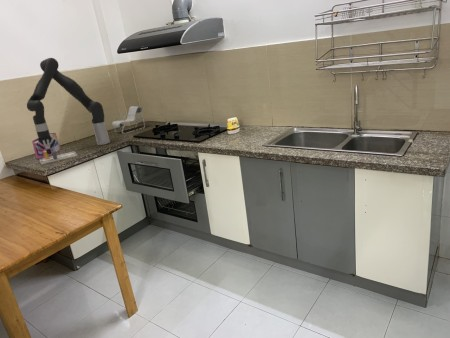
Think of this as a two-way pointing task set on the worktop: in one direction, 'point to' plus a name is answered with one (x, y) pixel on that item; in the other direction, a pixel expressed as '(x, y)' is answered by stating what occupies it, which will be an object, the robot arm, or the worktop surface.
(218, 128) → the worktop surface
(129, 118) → the chair
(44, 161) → the console
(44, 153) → the fader amber
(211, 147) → the worktop surface
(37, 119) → the robot arm
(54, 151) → the fader charcoal
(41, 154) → the gum box
